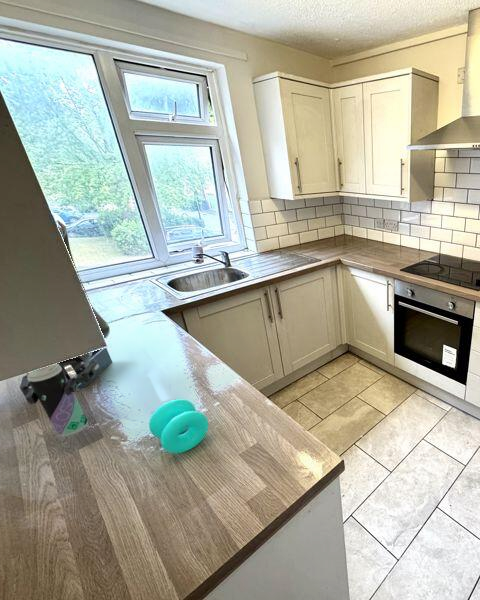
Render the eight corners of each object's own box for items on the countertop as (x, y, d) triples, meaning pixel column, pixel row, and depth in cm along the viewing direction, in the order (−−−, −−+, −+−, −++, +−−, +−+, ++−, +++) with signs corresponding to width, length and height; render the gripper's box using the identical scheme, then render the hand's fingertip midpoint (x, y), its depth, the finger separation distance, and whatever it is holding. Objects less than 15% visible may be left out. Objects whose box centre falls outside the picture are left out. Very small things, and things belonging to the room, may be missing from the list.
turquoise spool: (170, 464, 76) (157, 432, 72) (154, 443, 81) (141, 412, 77) (214, 437, 83) (205, 406, 79) (196, 419, 89) (187, 390, 84)
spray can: (59, 440, 77) (20, 371, 69) (57, 428, 81) (20, 360, 73) (89, 428, 81) (56, 360, 73) (86, 416, 84) (54, 351, 76)
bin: (33, 392, 98) (24, 376, 96) (67, 366, 110) (59, 350, 108) (85, 387, 100) (77, 371, 98) (112, 362, 112) (106, 347, 110)
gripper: (27, 353, 82) (-4, 393, 69) (100, 339, 89) (85, 373, 76) (40, 378, 85) (12, 420, 72) (110, 362, 92) (96, 398, 79)
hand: (50, 395), depth 74 cm, fingers closed on spray can, 5 cm apart
